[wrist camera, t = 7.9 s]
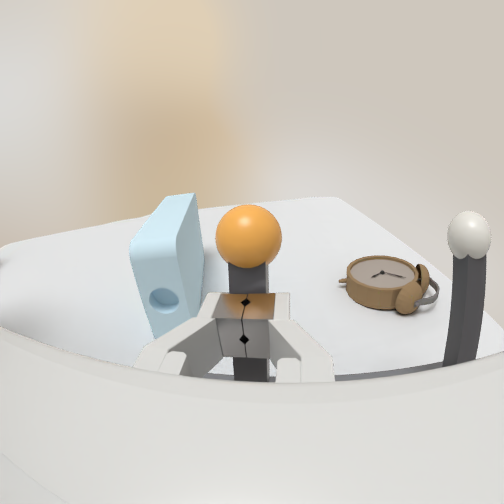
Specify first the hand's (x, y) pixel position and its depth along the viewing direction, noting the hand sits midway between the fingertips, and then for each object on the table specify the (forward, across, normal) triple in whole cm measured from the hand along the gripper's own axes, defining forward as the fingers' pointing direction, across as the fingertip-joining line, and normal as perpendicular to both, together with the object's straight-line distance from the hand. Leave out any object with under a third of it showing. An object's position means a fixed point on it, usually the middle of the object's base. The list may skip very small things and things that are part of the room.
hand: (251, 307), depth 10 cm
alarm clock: (+25, -17, +17) cm, 34 cm away
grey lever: (-2, -11, +7) cm, 13 cm away
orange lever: (-2, 0, +7) cm, 7 cm away
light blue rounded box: (+25, +14, +17) cm, 33 cm away
